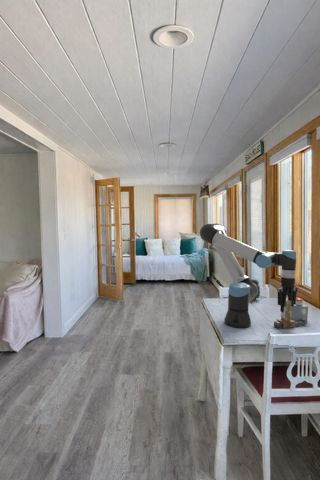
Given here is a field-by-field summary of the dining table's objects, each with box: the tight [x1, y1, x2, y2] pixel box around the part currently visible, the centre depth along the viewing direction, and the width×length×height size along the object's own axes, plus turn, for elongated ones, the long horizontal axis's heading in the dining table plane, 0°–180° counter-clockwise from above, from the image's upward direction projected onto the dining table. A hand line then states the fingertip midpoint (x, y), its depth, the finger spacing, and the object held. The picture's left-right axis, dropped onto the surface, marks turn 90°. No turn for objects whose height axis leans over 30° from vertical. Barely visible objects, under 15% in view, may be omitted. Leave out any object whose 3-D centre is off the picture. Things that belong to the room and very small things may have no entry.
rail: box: [273, 318, 307, 330], centre depth 182 cm, size 20×4×3 cm, turn 111°
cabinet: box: [290, 303, 309, 322], centre depth 194 cm, size 8×8×9 cm
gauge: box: [295, 297, 304, 306], centre depth 194 cm, size 4×4×6 cm
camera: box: [250, 279, 261, 301], centre depth 241 cm, size 10×10×15 cm
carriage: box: [276, 298, 295, 329], centre depth 180 cm, size 8×6×15 cm
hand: (285, 316), depth 181 cm, fingers closed on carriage, 3 cm apart
